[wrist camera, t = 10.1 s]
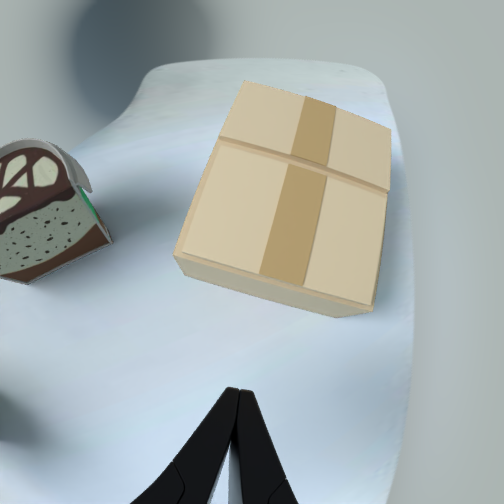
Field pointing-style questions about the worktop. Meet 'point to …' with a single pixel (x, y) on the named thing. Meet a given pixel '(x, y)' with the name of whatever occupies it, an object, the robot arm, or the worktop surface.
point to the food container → (44, 211)
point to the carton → (303, 155)
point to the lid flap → (289, 226)
